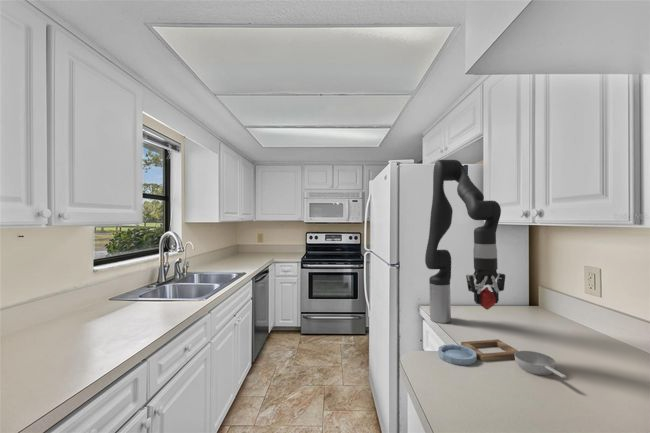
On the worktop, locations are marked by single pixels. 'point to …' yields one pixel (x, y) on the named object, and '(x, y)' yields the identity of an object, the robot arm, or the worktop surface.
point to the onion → (487, 298)
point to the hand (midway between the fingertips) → (486, 303)
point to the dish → (457, 354)
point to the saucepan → (536, 363)
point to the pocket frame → (491, 356)
